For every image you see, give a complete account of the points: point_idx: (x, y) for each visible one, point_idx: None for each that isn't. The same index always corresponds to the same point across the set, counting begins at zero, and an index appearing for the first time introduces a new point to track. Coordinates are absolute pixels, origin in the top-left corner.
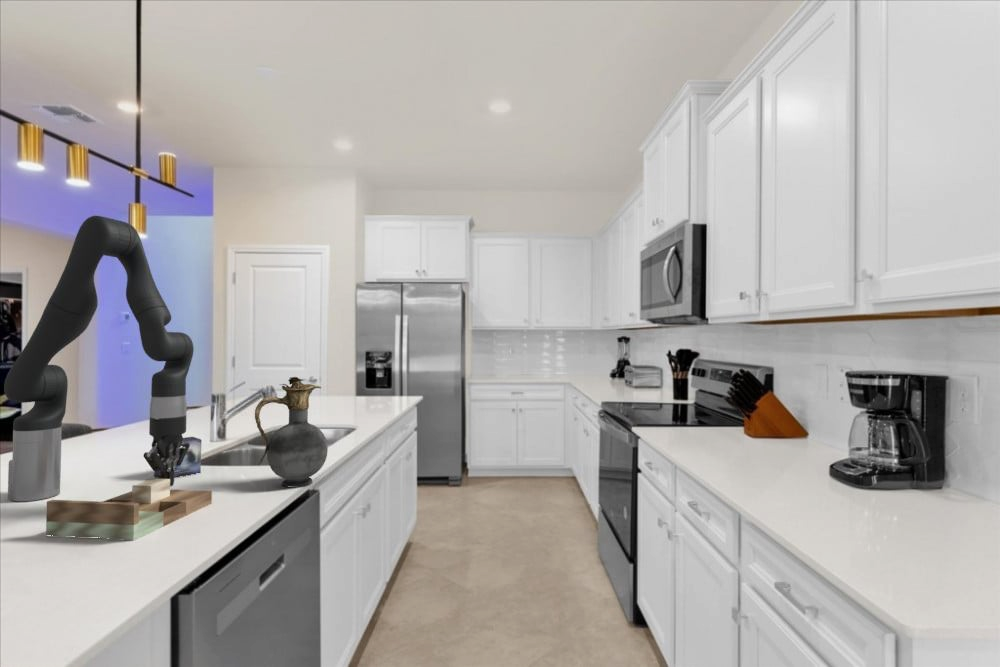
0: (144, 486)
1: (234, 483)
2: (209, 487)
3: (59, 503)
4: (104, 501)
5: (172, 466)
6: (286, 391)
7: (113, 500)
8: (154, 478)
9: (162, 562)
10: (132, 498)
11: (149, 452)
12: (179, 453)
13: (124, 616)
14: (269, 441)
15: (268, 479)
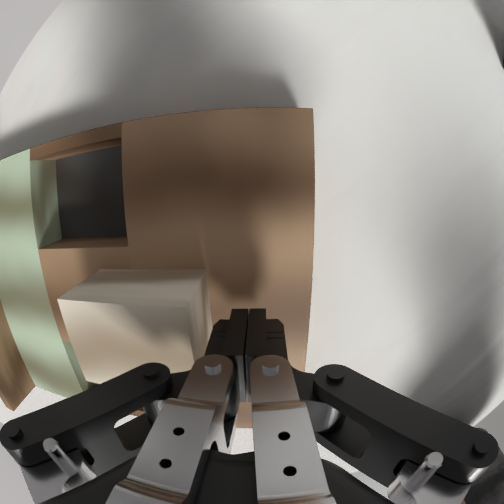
0: (77, 353)
1: (489, 318)
2: (468, 275)
3: None
4: (95, 135)
5: (252, 424)
6: None
7: (124, 144)
8: (185, 322)
9: None
10: (91, 277)
11: (23, 469)
12: (374, 461)
13: (3, 422)
14: (478, 501)
15: (494, 369)
